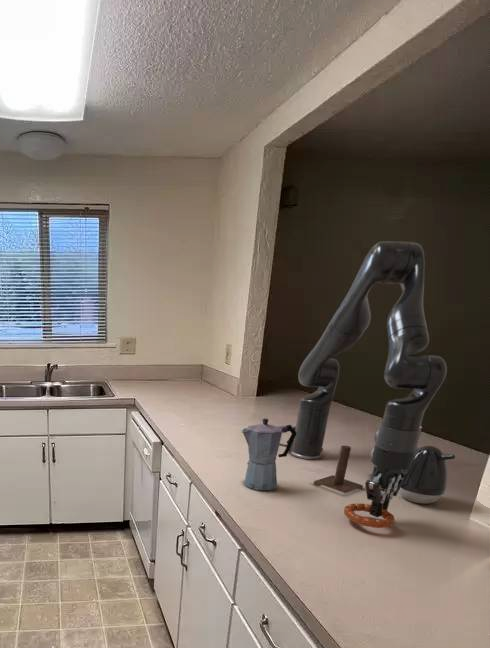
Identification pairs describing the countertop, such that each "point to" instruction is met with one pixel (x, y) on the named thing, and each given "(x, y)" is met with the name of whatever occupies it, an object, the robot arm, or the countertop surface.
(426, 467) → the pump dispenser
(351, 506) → the ring
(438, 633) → the countertop surface
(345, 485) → the stand
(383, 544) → the countertop surface
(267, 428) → the moka pot
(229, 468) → the countertop surface
